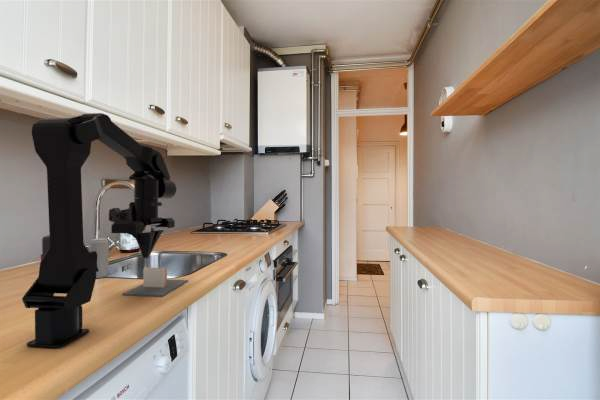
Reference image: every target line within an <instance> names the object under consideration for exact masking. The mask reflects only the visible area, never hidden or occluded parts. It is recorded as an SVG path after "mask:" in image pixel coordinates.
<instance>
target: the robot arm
mask: <svg viewBox="0 0 600 400" xmlns="http://www.w3.org/2000/svg"><path fill="white" fill-rule="evenodd" d="M111 119H112V118H111V117H110V116H109V115H107V114H105V113H101V112H98V113H97V112H96V113H95V112H94V113H90V112H89V113H83V114H81V115H77V116H73V117H61V118H60V117H54V118H50V117H49V118H41V119H39V120H37V121H36V122H35V123H33V124H32V127H31V136H32V142H33V147H34V151H35V153H36V155H37V157H39V159H40V160H41V161H42V164H44V166H45V167H46V177H47V178H46V179H47V180H46V181H47V204H48V205H47V206H48V208H47V209H48V227H49V229H48V230H49V233H48V235H50V248H49V249H48V251H47V253H46V254H45V256H44V257H43V259H42V260H41V259H40V263H39V270H38V277H37V278H36V279H35V281H34V282H33V283H32V284H31V286H30V287H29V288H28V290H27V291H26V293H24V294H23V296H22V298H21V301H22V303H23V304H24V305H23V306H24V307H25V309H30V308H31V309H35V310H34V338H33V339H31V340H30V341H28V342H27V343H26V346H27V347H37V348H38V347H39V348H52V349H53V348H54V349H55V348H56V349H59V348H62V347H64V346H66V345H68V344H70V343H71V342H73V341H75V340H77V339H79V338H81V337H82V336H84V335H86V334H87V333H89V332H90V328H83V326H84V325H83V305H86V304H87V303H89V302H91V299H92V296H93V292H94V288H95V284H96V280H97V278H96V272H99V270H98V267H97V253H96V251H90V250H89V249H88V248H87V247H86V245H85V243H84V242H85V241H84V219H83V190H82V189H83V188H82V167H83V165H84V164H85V162H86V161H87V159H88V158H89V156H90V155H91V149H92V142H94V141H96V140H98V141H99V142H101V143H102V144H104V146H106V147H108V148H110V149H111V150H112V151H113V152H115V153H117V154H118V155H120V156H121V157H123V158H124V159H125V164H126V165H127V167H128V168H130V170H132V171H133V173H132V174H131V175H130V176H129V177H128V179H129V180H131V181H133V184H134V185H133V200H134V201H130V202H129V204H128V206H129V207H128V208H126V209H121V208H119V207H113V208H110V209H109V210H108V221H109V222H111V223H112V224H111V225H110V226H111V227H110V232H111V234H128V235H131V236H132V237H133V238H135V240H136V242H137V245H138V247H139V250H140V253H141V255H142V256H141V257H143V259H147V258H150V256H151V254H152V252H153V250H154V248H155V247H156V244H157V242H158V240H159V238H160V236H161V235H162V233H164V229H162V230H161V229H160V228H167V229H172V228H175V226H176V225H175V224H176V223H175V222H176V221H175V220H174V219H173V218H172V217H159V207H163V206H162V201H159V200H161V199H163V200H165V199H166V200H168V199H172V198H173V197H175V195H176V193H177V187H176V184H175V182H174V181H173V180H171V176H170V173H169V170H168V168H167V165H166V162H165V160H164V157H163V155H162V153H161V152H160V151H159V150H157V149H155V148H153V147H151V146H148V145H144V144H141V143H139V142H138V141H137V140H136V139H134V138H133V137H132V136H130V135H129V134H128V133H127V132H126V131H125V130H124V129H123V128H120V127H119V126H118V125H117V124H116V123H115V122H113V121H112V120H111ZM55 294H58V295H55ZM59 294H61V295H59ZM63 294H64V295H66V296H64V295H63Z"/></svg>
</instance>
